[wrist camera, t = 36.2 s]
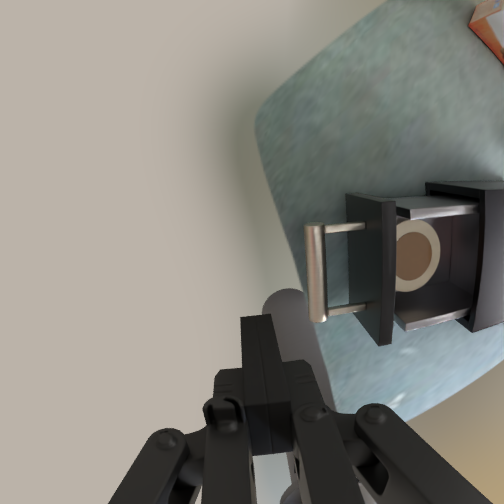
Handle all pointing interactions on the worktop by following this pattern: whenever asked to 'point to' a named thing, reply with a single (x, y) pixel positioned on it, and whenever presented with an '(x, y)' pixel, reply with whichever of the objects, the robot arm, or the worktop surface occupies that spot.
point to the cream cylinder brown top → (415, 253)
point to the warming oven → (483, 249)
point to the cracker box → (490, 25)
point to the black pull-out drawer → (384, 263)
